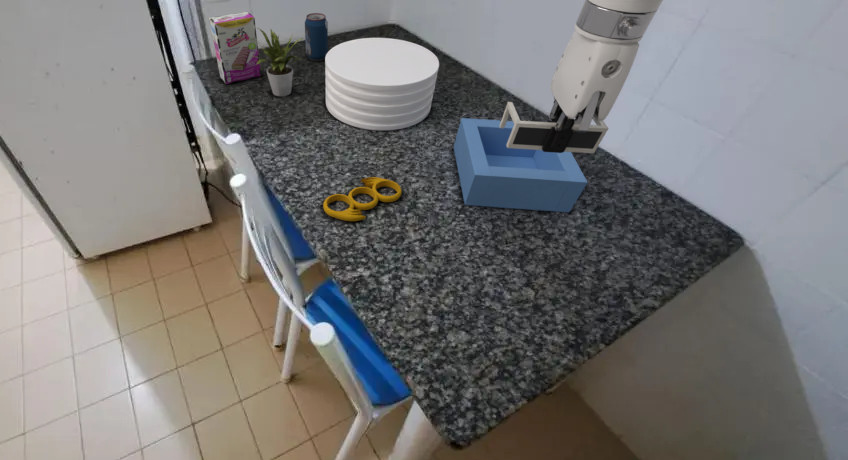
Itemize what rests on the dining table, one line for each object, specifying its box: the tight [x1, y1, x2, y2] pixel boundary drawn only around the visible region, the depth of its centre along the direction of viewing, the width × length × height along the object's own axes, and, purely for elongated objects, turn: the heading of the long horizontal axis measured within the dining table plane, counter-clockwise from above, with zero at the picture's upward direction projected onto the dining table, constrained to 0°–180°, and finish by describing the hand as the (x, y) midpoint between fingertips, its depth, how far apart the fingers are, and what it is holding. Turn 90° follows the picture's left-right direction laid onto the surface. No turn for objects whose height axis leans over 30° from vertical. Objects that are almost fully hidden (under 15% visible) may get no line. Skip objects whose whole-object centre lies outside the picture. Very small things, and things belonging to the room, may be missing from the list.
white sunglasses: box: [500, 101, 609, 154], centre depth 61 cm, size 6×13×4 cm, turn 85°
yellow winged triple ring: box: [322, 176, 402, 222], centre depth 77 cm, size 17×2×10 cm
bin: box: [453, 117, 588, 213], centre depth 80 cm, size 20×20×8 cm
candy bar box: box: [208, 11, 262, 85], centre depth 108 cm, size 11×5×16 cm, turn 122°
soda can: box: [304, 12, 329, 62], centre depth 120 cm, size 7×7×12 cm
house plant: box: [250, 27, 305, 97], centre depth 102 cm, size 14×14×16 cm
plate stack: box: [324, 37, 440, 131], centre depth 100 cm, size 28×28×12 cm
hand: (550, 147), depth 60 cm, fingers closed on white sunglasses, 1 cm apart
